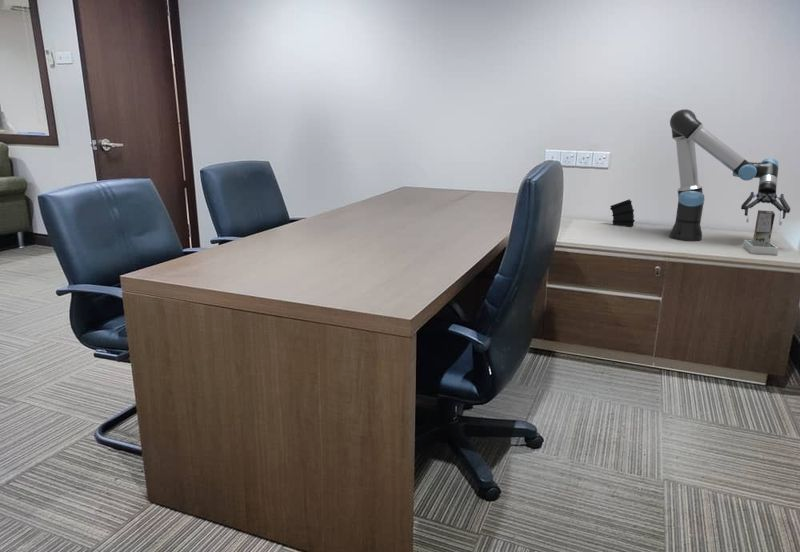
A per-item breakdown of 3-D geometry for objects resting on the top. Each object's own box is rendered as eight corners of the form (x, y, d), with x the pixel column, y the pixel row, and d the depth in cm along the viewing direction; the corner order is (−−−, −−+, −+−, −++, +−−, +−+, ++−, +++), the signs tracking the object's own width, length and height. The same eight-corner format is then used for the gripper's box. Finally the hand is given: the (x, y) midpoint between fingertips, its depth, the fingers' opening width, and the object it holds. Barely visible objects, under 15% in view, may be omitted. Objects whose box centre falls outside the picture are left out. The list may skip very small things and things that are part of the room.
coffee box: (769, 248, 275) (775, 214, 270) (753, 246, 278) (759, 212, 273) (767, 244, 283) (773, 210, 278) (751, 242, 286) (757, 209, 281)
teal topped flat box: (750, 253, 276) (752, 246, 275) (743, 247, 288) (744, 240, 287) (776, 255, 273) (778, 248, 272) (768, 248, 286) (769, 241, 285)
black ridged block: (638, 224, 331) (629, 199, 331) (615, 232, 339) (606, 207, 339) (639, 223, 334) (630, 198, 334) (617, 231, 342) (608, 206, 342)
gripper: (795, 193, 288) (793, 229, 280) (737, 189, 299) (733, 223, 291) (799, 183, 282) (796, 220, 274) (739, 180, 293) (735, 215, 285)
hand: (763, 222), depth 282 cm, fingers open, 13 cm apart
